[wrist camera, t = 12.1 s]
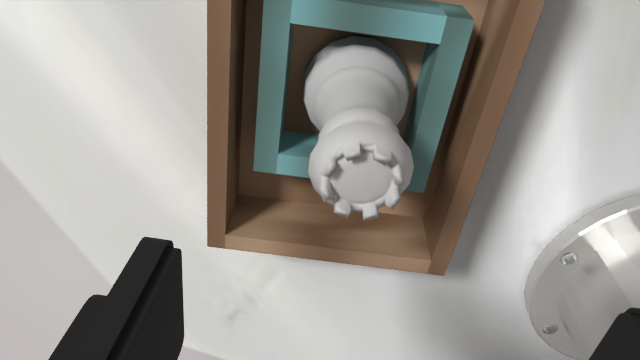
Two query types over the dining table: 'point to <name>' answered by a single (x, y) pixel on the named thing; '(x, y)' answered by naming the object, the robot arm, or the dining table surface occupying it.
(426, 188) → the walled box
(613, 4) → the dining table surface
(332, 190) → the rook chess piece
